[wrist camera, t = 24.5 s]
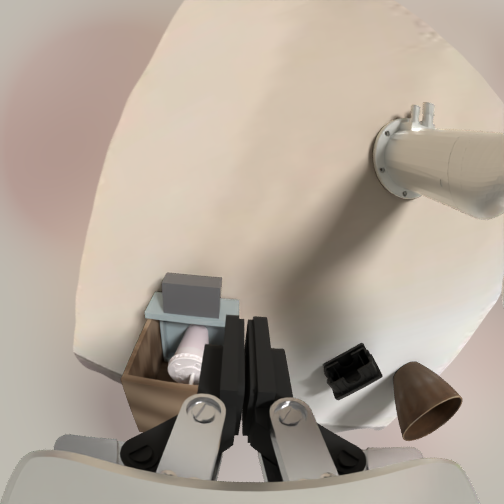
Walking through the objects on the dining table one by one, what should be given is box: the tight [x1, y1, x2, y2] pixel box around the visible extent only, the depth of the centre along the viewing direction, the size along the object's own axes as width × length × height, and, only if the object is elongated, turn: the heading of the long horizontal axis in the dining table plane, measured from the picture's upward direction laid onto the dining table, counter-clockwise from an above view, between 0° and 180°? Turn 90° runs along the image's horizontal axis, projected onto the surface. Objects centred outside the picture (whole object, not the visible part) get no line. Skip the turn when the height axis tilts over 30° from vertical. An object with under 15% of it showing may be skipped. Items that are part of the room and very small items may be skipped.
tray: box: [144, 273, 239, 362], centre depth 42 cm, size 18×14×6 cm
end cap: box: [323, 343, 382, 400], centre depth 48 cm, size 10×7×7 cm
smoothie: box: [168, 324, 209, 385], centre depth 38 cm, size 6×6×14 cm
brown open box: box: [121, 319, 198, 432], centre depth 38 cm, size 12×13×19 cm
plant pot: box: [393, 362, 462, 441], centre depth 47 cm, size 15×15×16 cm
